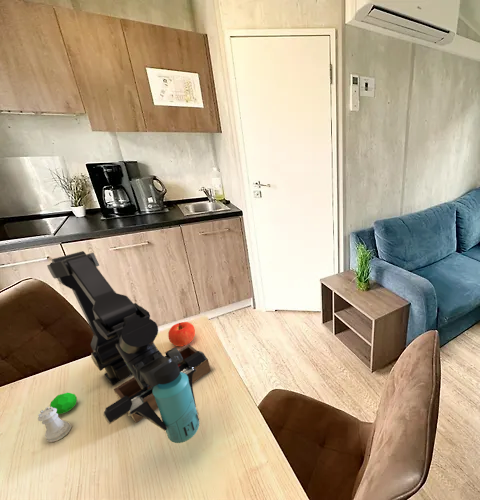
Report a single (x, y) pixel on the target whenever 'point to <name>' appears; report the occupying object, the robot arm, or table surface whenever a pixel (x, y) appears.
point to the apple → (181, 333)
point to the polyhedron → (64, 402)
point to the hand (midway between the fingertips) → (180, 418)
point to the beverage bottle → (176, 403)
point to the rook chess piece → (53, 424)
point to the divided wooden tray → (133, 387)
